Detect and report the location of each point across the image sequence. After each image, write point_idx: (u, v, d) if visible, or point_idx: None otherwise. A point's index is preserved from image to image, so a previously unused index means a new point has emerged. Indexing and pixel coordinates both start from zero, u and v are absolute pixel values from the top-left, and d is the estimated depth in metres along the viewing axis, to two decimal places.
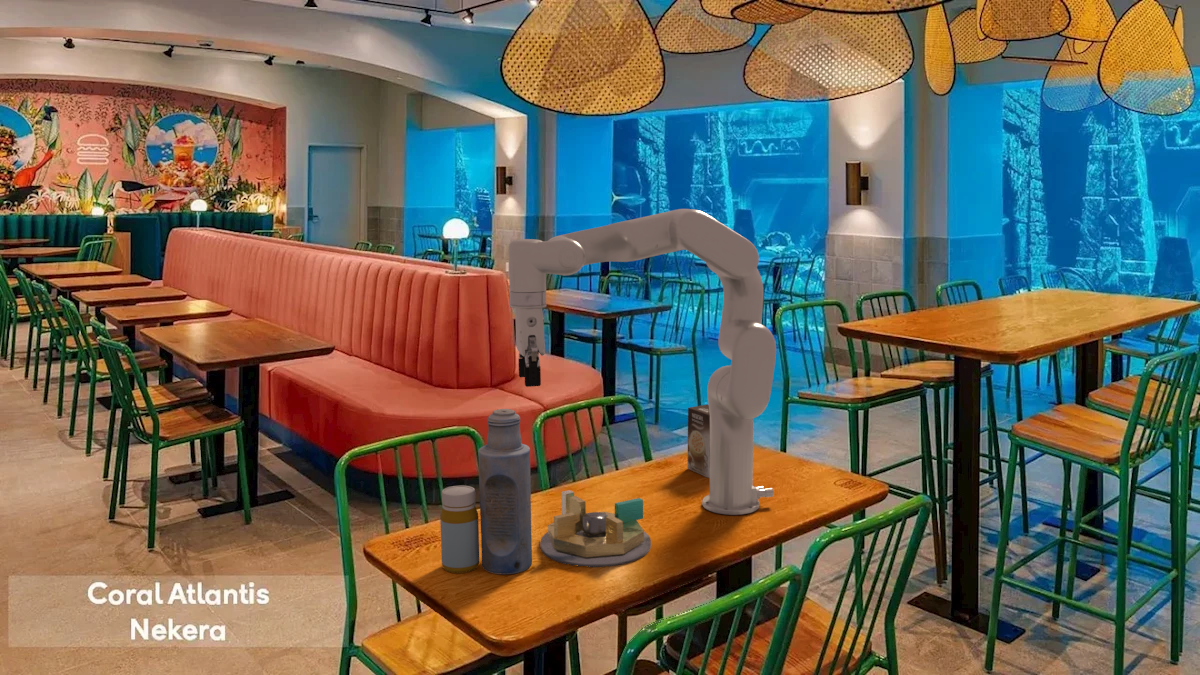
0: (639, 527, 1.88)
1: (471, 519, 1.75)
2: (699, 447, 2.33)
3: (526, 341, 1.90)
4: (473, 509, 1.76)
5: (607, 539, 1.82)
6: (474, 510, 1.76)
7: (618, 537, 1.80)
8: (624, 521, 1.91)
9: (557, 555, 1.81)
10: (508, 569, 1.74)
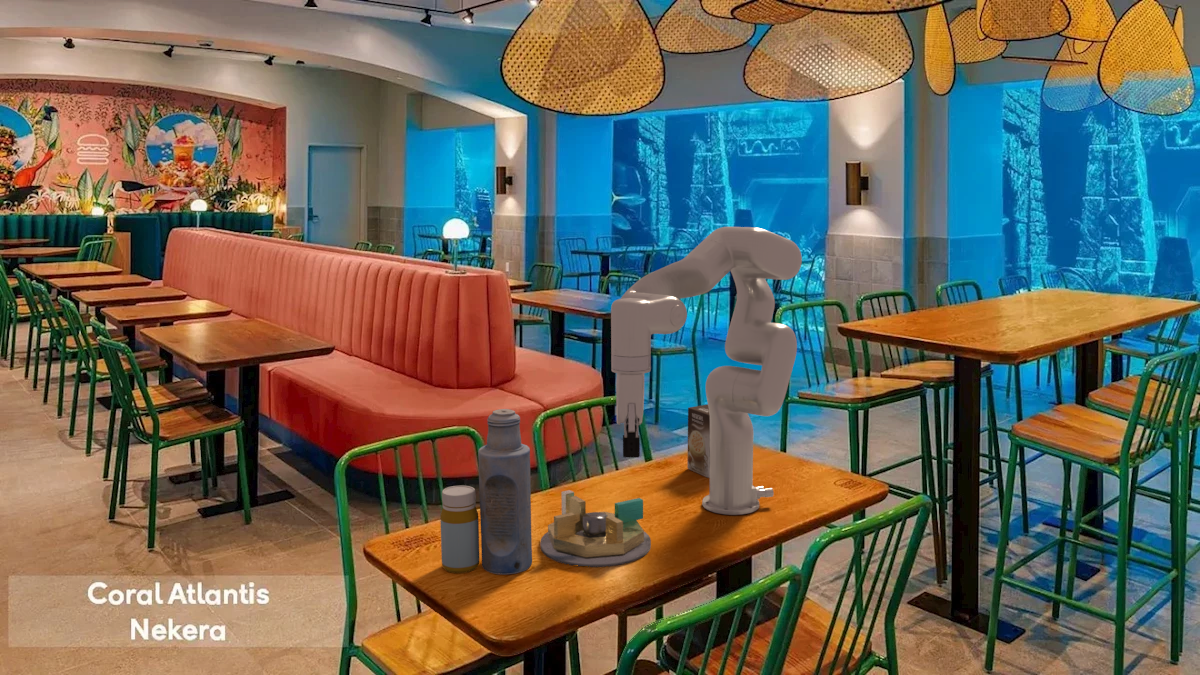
0: (639, 527, 1.88)
1: (471, 519, 1.75)
2: (699, 447, 2.33)
3: None
4: (473, 509, 1.76)
5: (607, 539, 1.82)
6: (474, 510, 1.76)
7: (618, 537, 1.80)
8: (624, 521, 1.91)
9: (557, 555, 1.81)
10: (508, 569, 1.74)
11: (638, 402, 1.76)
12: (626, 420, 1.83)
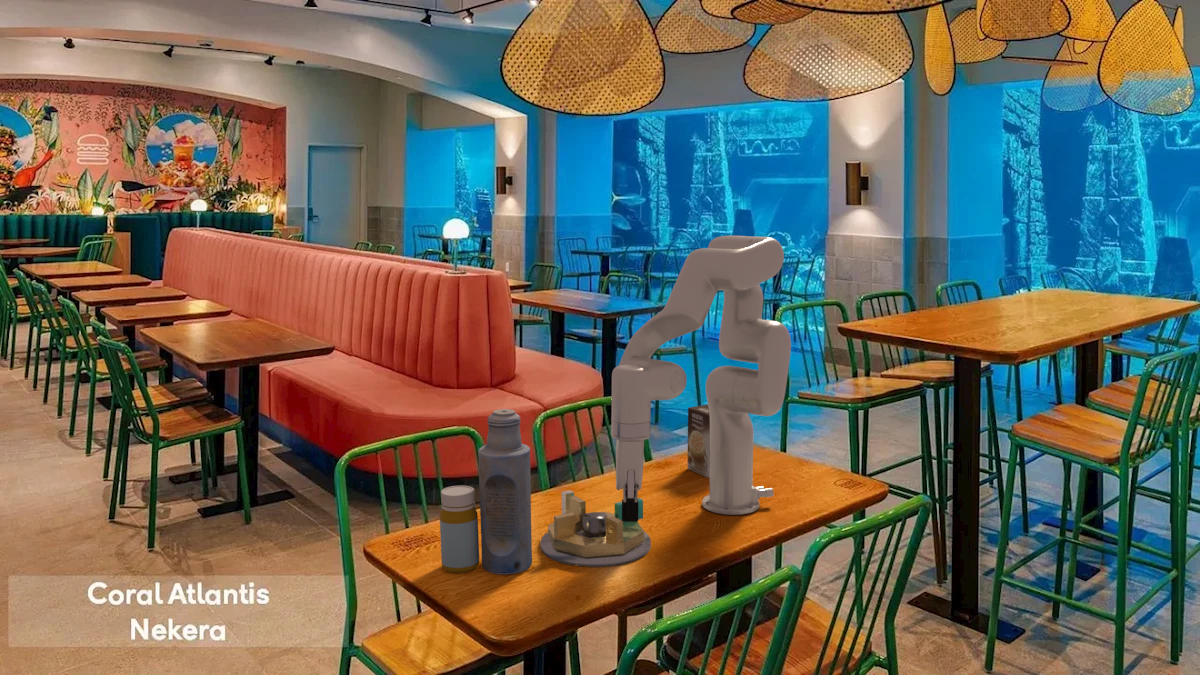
0: (639, 527, 1.88)
1: (471, 519, 1.75)
2: (699, 447, 2.33)
3: None
4: (472, 509, 1.76)
5: (607, 539, 1.82)
6: (473, 510, 1.76)
7: (618, 537, 1.80)
8: None
9: (557, 555, 1.81)
10: (508, 569, 1.74)
11: (637, 468, 1.78)
12: (625, 484, 1.85)
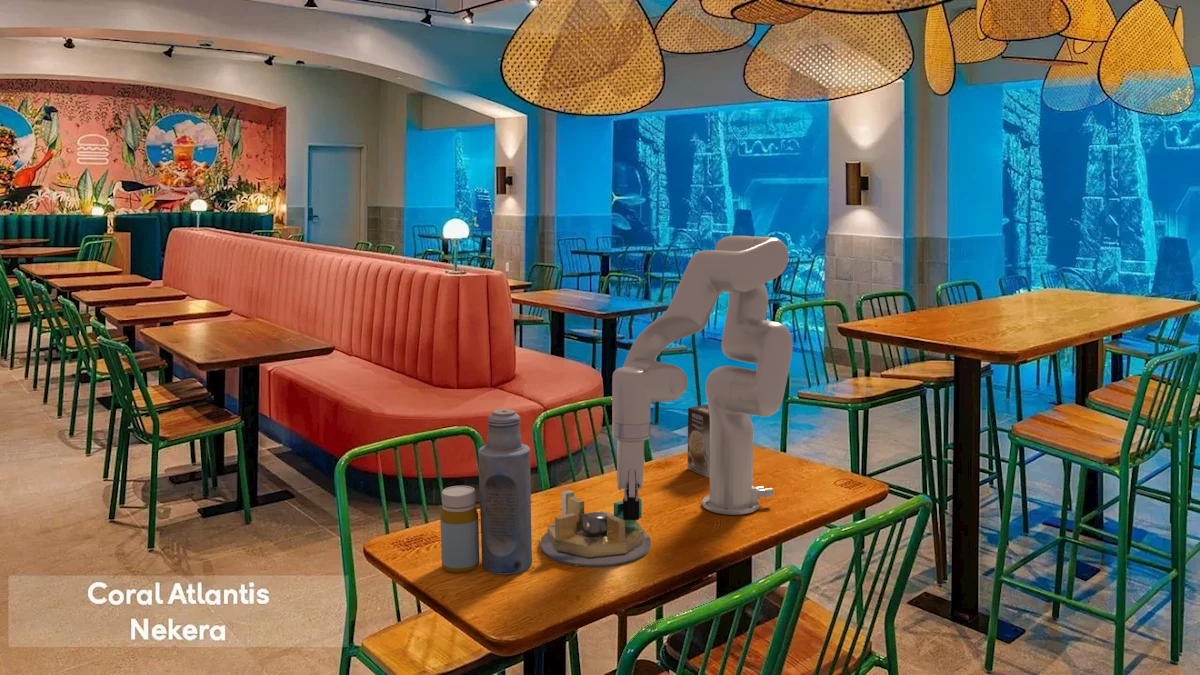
0: (639, 526, 1.89)
1: (471, 519, 1.74)
2: (699, 447, 2.33)
3: None
4: (473, 509, 1.75)
5: (609, 539, 1.82)
6: (474, 510, 1.76)
7: (620, 537, 1.80)
8: (623, 520, 1.91)
9: (557, 555, 1.81)
10: (508, 569, 1.74)
11: (638, 468, 1.83)
12: (626, 484, 1.89)
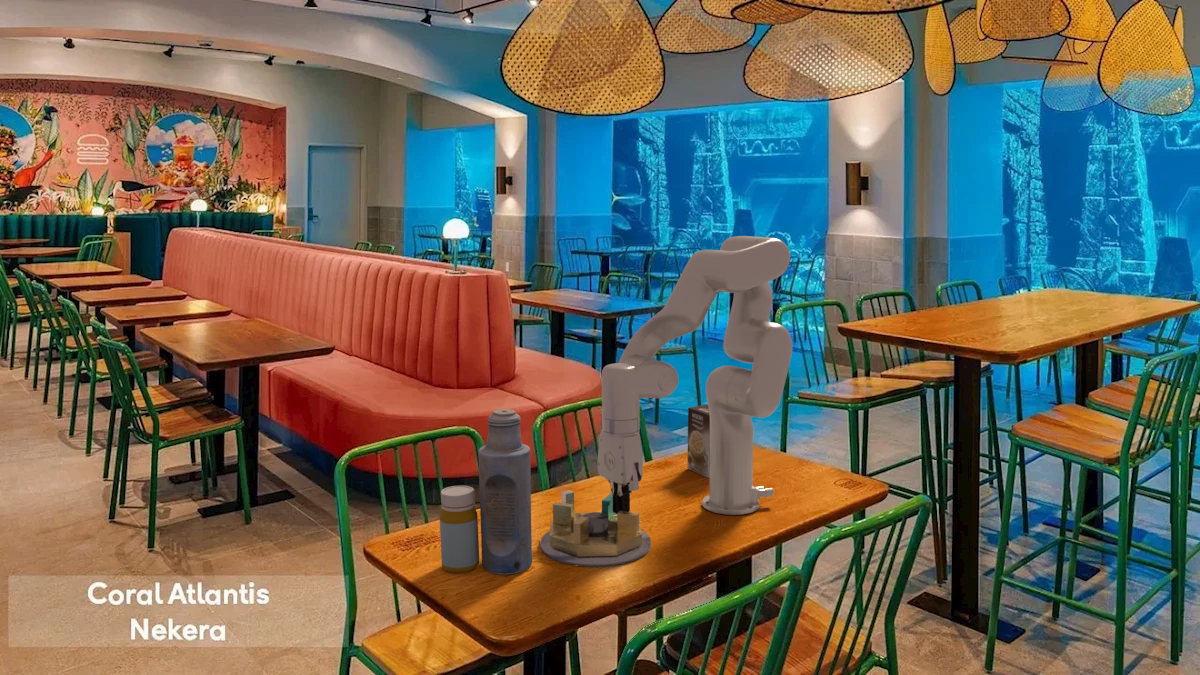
0: None
1: (471, 519, 1.75)
2: (699, 447, 2.33)
3: None
4: (472, 509, 1.76)
5: (623, 534, 1.84)
6: (473, 510, 1.76)
7: (637, 530, 1.84)
8: (610, 516, 1.94)
9: (557, 555, 1.81)
10: (508, 569, 1.74)
11: (640, 460, 1.88)
12: None
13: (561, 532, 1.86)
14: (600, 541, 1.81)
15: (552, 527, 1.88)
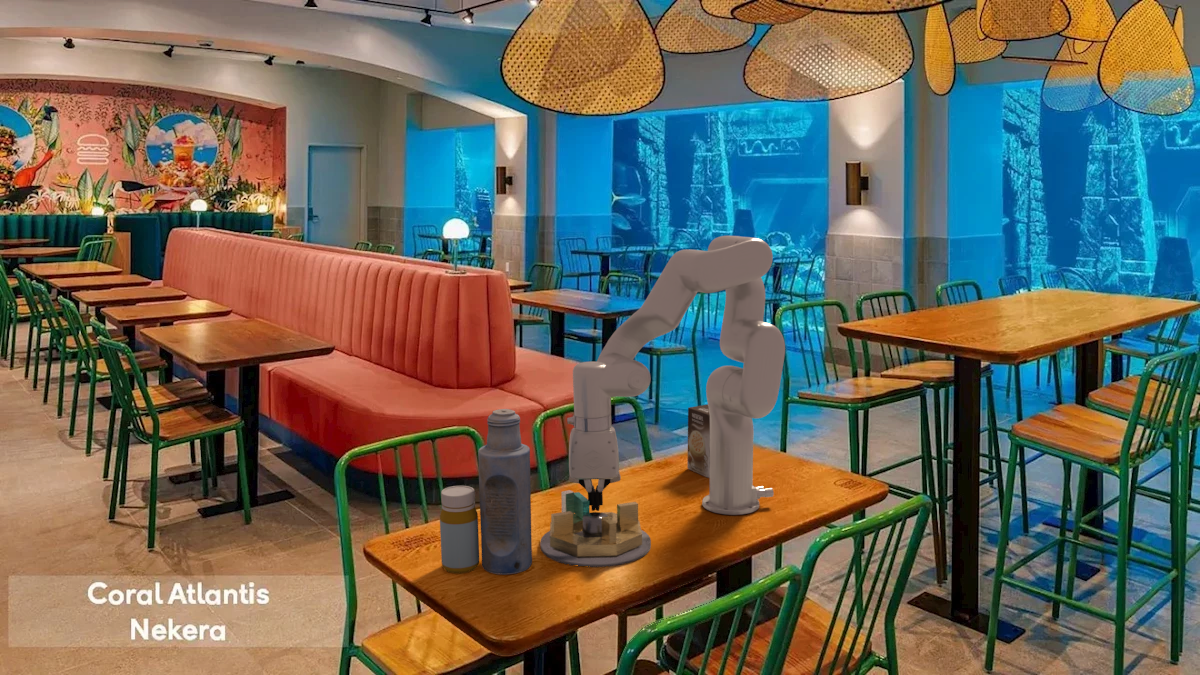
0: None
1: (471, 519, 1.74)
2: (699, 447, 2.33)
3: None
4: (473, 509, 1.75)
5: (627, 525, 1.89)
6: (474, 510, 1.76)
7: None
8: None
9: (557, 555, 1.81)
10: (508, 569, 1.74)
11: None
12: None
13: (579, 539, 1.82)
14: (625, 535, 1.84)
15: (562, 539, 1.82)
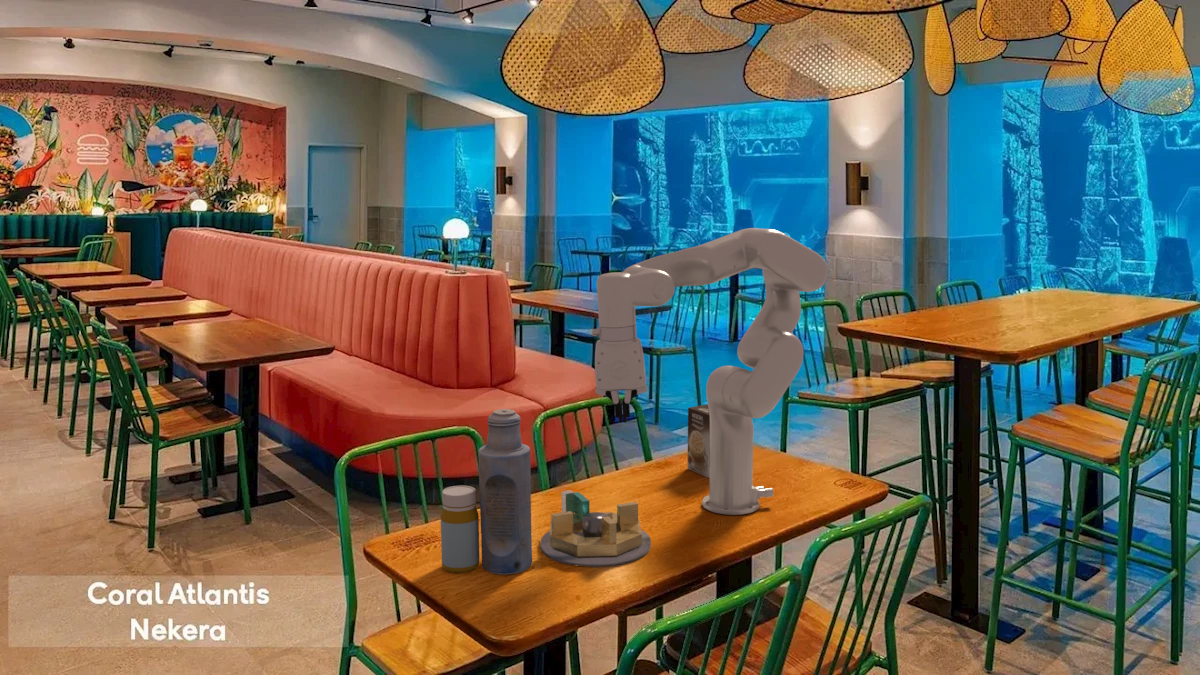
0: None
1: (472, 519, 1.75)
2: (699, 447, 2.33)
3: None
4: (474, 509, 1.76)
5: (627, 525, 1.89)
6: (475, 510, 1.76)
7: None
8: None
9: (557, 555, 1.81)
10: (508, 569, 1.74)
11: None
12: (616, 389, 1.93)
13: (579, 539, 1.82)
14: (625, 535, 1.84)
15: (562, 539, 1.82)
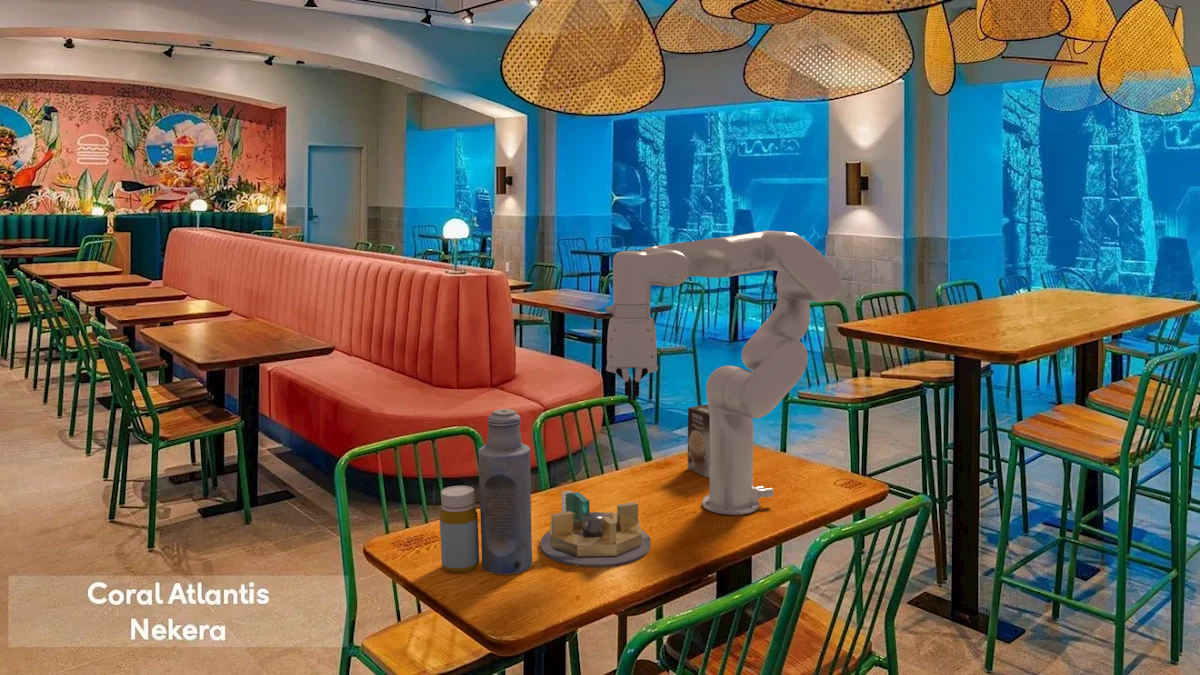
0: None
1: (471, 519, 1.75)
2: (699, 447, 2.33)
3: None
4: (473, 509, 1.75)
5: (627, 525, 1.89)
6: (474, 510, 1.76)
7: None
8: None
9: (557, 555, 1.81)
10: (508, 569, 1.74)
11: None
12: (627, 367, 1.94)
13: (579, 539, 1.82)
14: (625, 535, 1.84)
15: (562, 539, 1.82)
